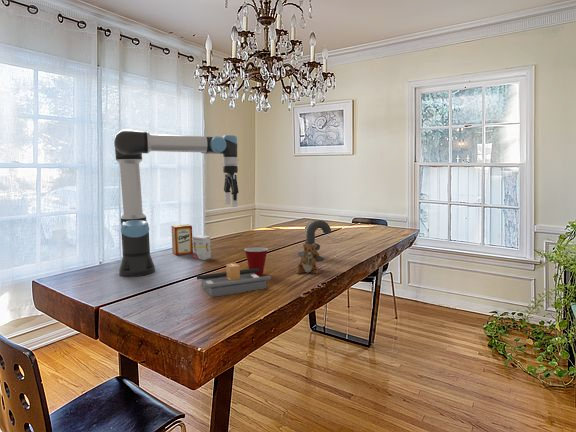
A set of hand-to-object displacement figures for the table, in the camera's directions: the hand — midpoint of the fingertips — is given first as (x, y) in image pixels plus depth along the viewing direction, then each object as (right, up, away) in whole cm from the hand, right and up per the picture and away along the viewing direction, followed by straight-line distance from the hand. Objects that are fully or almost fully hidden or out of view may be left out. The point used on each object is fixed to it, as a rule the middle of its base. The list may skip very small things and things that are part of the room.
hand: (231, 205), depth 202 cm
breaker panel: (+8, -34, -49) cm, 60 cm away
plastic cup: (+16, -32, -31) cm, 47 cm away
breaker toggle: (+8, -31, -50) cm, 59 cm away
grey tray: (+9, -31, -49) cm, 59 cm away
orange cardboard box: (-29, -27, +10) cm, 40 cm away
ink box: (-15, -28, -1) cm, 32 cm away
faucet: (+46, -28, +1) cm, 54 cm away
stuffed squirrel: (+40, -31, -25) cm, 57 cm away
